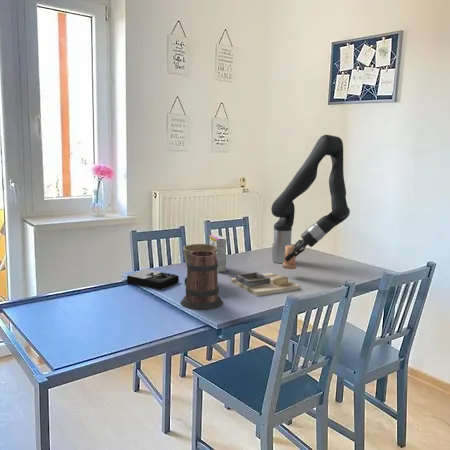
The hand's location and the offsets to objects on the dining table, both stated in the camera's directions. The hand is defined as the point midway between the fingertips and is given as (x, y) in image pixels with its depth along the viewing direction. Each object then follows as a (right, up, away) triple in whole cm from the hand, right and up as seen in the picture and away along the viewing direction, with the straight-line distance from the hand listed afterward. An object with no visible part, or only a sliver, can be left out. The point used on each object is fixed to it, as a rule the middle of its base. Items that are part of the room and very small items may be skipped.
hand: (286, 258), depth 219 cm
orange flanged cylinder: (+2, -4, +1) cm, 5 cm away
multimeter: (-61, -11, -11) cm, 63 cm away
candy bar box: (-33, -6, +12) cm, 35 cm away
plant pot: (-40, -10, -10) cm, 42 cm away
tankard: (-39, -14, -33) cm, 54 cm away
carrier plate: (-11, -11, -13) cm, 20 cm away
